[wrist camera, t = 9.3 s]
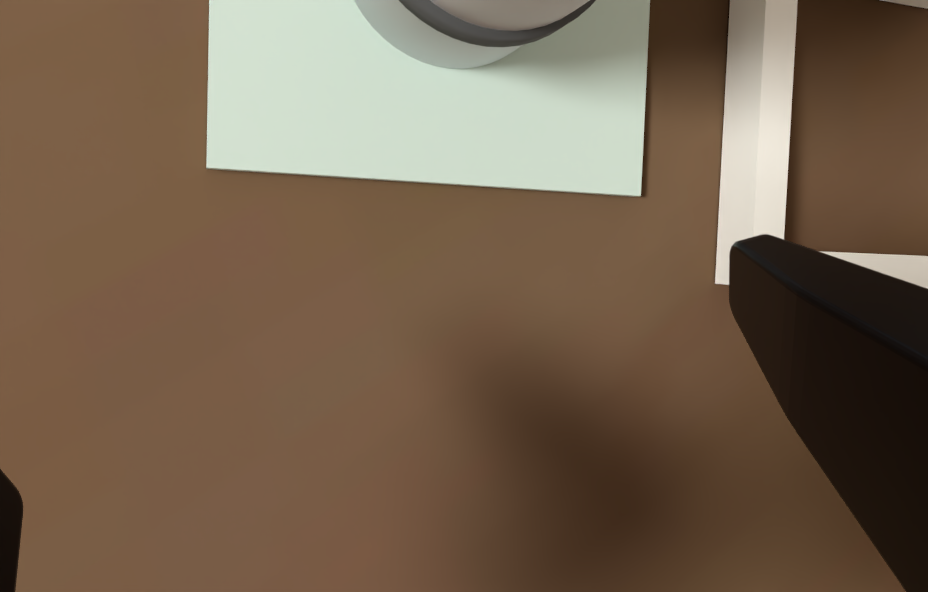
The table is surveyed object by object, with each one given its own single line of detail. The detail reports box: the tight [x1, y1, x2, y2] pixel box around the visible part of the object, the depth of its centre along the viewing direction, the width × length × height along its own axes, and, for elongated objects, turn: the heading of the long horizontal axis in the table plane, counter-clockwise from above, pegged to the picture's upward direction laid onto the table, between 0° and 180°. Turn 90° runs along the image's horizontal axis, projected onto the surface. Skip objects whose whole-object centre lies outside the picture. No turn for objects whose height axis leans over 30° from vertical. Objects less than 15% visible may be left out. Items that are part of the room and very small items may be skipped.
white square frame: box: [715, 0, 928, 289], centre depth 22 cm, size 10×10×2 cm
